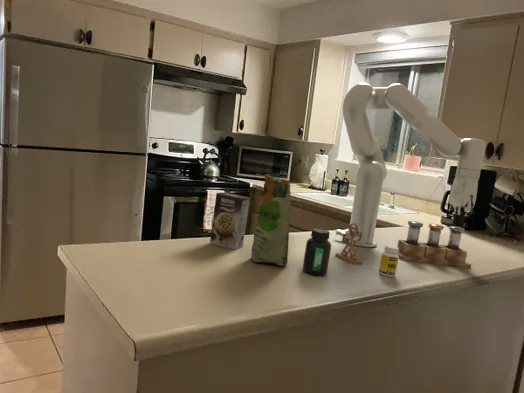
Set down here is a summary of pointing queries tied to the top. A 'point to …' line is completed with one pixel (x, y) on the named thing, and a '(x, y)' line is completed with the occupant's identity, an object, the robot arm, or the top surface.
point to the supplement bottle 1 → (317, 253)
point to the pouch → (273, 223)
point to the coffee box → (229, 220)
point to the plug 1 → (413, 232)
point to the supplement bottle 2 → (389, 261)
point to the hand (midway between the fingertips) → (457, 225)
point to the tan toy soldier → (343, 254)
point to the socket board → (432, 254)
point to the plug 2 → (454, 237)
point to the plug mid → (434, 235)
